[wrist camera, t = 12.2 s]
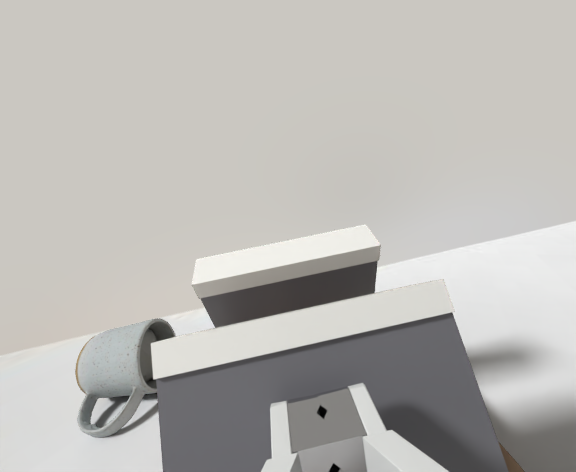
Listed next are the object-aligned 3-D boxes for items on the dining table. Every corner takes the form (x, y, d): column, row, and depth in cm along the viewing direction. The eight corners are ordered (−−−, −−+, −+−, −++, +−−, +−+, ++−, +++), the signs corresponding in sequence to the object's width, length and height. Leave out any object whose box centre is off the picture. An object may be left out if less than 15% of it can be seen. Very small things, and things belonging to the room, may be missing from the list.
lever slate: (360, 325, 24) (365, 224, 17) (370, 348, 22) (380, 245, 15) (239, 352, 23) (196, 259, 17) (239, 378, 22) (191, 284, 15)
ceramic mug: (126, 365, 36) (104, 316, 33) (184, 356, 35) (166, 306, 33) (60, 448, 25) (23, 385, 23) (141, 438, 25) (110, 372, 23)
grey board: (520, 600, 9) (416, 283, 12) (588, 686, 7) (443, 279, 10) (209, 688, 9) (175, 336, 12) (184, 809, 7) (150, 343, 10)
